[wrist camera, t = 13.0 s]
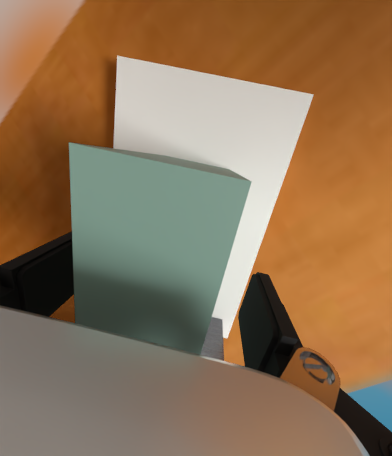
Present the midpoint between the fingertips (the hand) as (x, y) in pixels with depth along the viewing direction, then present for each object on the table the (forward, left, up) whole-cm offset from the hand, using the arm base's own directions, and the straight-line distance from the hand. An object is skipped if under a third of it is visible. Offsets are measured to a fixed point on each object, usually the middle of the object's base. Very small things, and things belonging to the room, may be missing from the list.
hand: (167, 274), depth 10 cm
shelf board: (0, -1, -6) cm, 6 cm away
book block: (0, 0, -5) cm, 5 cm away
